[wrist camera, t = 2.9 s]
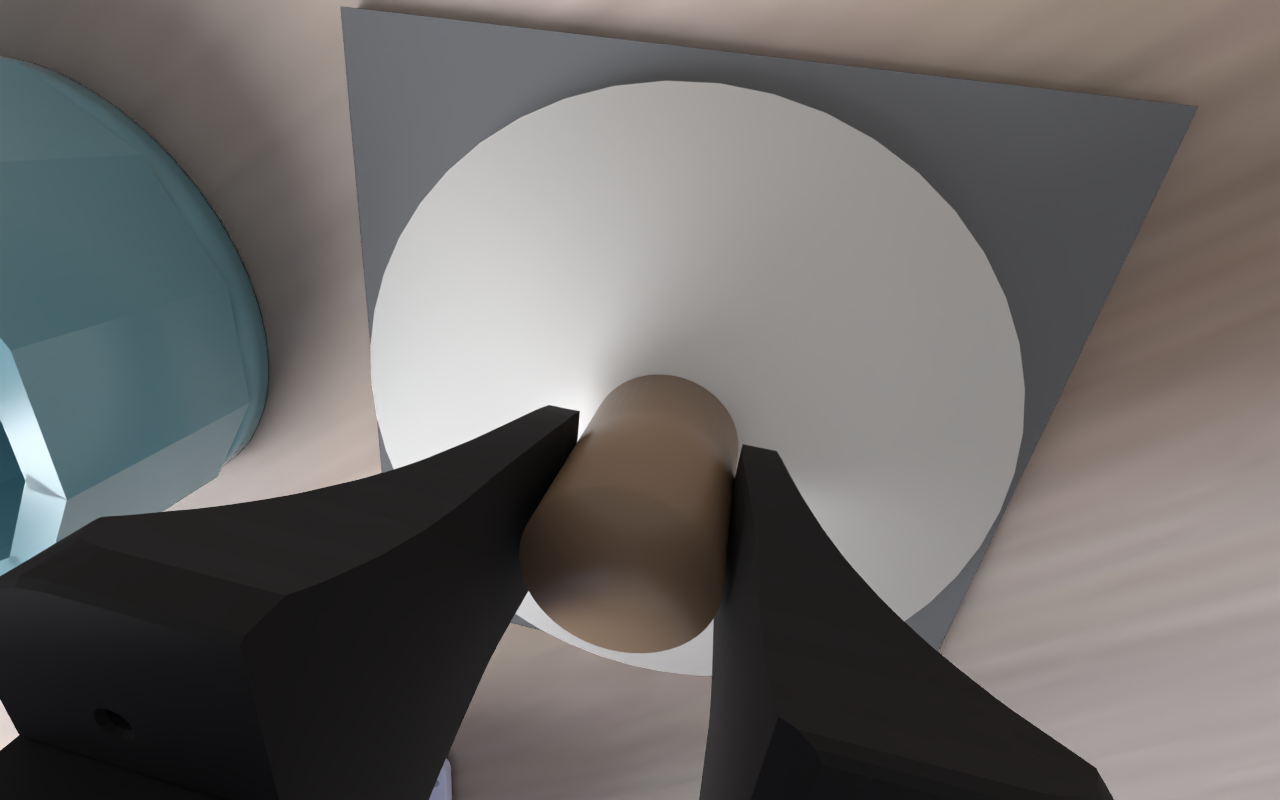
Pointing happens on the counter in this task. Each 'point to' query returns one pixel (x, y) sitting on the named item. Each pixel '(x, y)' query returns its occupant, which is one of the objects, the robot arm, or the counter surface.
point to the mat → (860, 97)
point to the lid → (703, 350)
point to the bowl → (110, 320)
